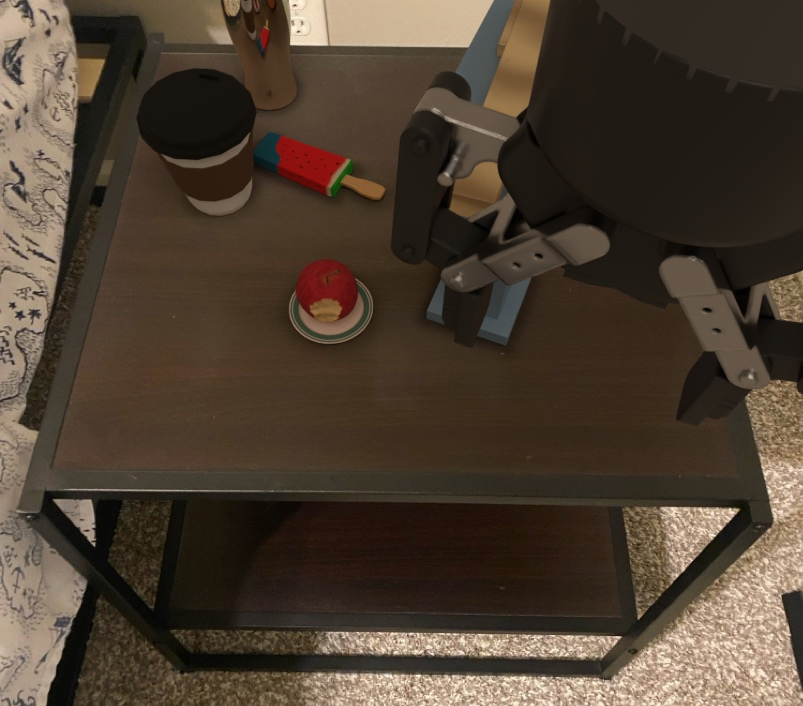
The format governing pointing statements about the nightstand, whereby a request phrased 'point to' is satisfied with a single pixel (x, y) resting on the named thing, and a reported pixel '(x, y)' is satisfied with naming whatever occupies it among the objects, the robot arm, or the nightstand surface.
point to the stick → (505, 97)
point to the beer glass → (263, 48)
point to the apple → (329, 303)
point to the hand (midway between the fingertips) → (576, 363)
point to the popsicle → (311, 166)
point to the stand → (504, 299)
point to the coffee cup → (202, 136)
